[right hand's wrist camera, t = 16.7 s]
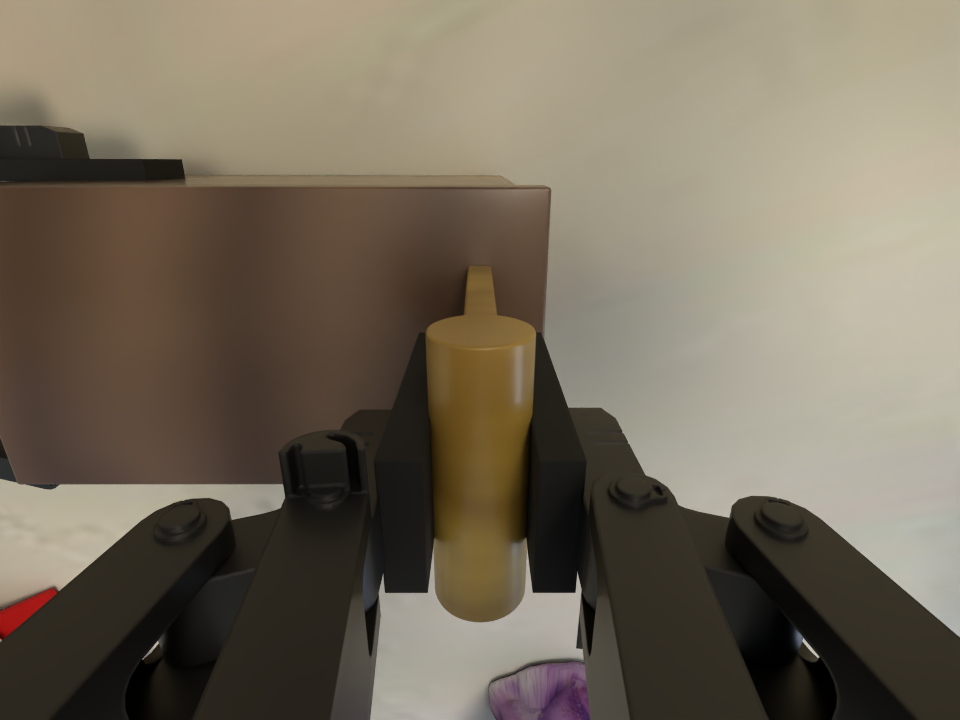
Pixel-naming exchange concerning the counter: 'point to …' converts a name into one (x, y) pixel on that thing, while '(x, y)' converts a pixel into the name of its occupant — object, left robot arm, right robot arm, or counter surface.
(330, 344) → the lid
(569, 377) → the counter surface
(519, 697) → the figurine
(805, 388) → the counter surface
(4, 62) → the counter surface
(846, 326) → the counter surface
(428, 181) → the chest
